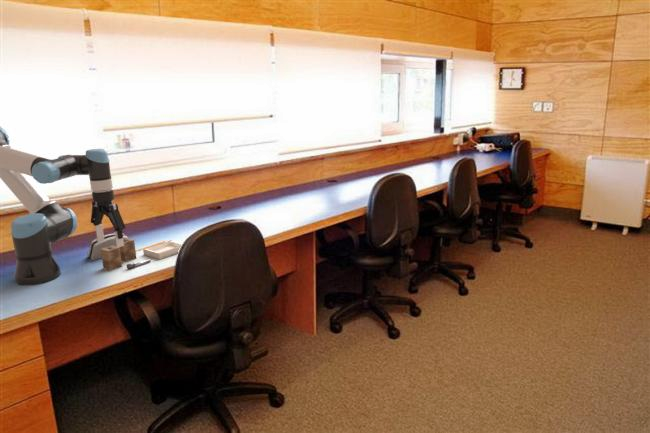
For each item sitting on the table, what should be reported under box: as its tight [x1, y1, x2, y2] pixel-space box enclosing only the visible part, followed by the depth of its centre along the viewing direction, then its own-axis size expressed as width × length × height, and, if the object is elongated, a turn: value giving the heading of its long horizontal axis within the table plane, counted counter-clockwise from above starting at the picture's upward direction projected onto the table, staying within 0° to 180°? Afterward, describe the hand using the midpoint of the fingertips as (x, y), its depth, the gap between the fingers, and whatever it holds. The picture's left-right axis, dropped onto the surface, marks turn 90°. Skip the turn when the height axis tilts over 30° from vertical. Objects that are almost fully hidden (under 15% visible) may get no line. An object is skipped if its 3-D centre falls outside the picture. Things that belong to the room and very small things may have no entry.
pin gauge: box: [126, 259, 151, 270], centre depth 201 cm, size 10×2×2 cm, turn 143°
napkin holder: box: [86, 232, 129, 261], centre depth 214 cm, size 17×5×10 cm, turn 140°
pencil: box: [135, 240, 166, 252], centre depth 223 cm, size 1×18×1 cm, turn 145°
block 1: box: [101, 245, 123, 272], centre depth 198 cm, size 5×5×8 cm
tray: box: [142, 240, 183, 260], centre depth 215 cm, size 14×11×3 cm
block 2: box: [119, 237, 137, 263], centre depth 208 cm, size 5×5×8 cm
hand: (110, 243), depth 197 cm, fingers open, 13 cm apart
